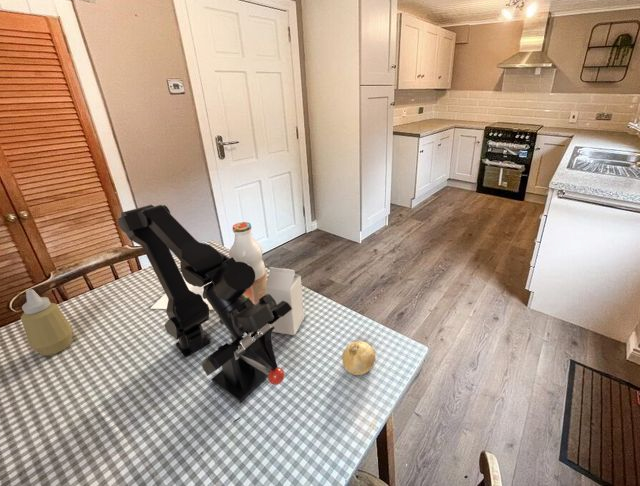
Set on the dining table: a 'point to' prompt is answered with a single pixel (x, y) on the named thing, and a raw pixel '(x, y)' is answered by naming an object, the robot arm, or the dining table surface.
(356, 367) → the onion
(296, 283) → the milk carton
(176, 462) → the dining table surface
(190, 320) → the robot arm
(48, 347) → the squeeze bottle
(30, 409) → the dining table surface
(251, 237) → the fruit juice
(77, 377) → the dining table surface
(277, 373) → the lever
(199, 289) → the teacup and saucer
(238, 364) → the bracket
